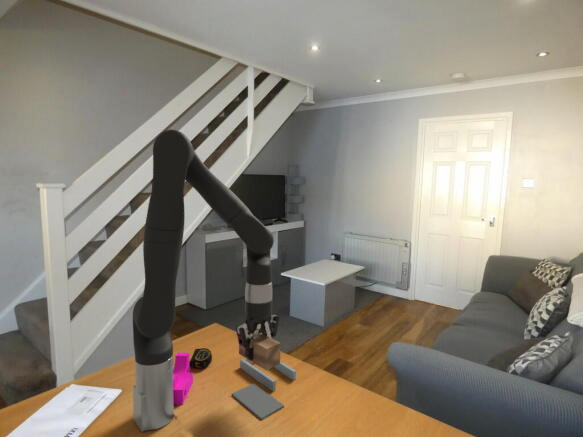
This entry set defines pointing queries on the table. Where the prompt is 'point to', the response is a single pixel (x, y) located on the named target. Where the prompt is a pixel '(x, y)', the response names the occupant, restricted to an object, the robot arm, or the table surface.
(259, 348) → the block
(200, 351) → the tape measure
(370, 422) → the table surface
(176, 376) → the toy block
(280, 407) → the mat
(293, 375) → the channel
